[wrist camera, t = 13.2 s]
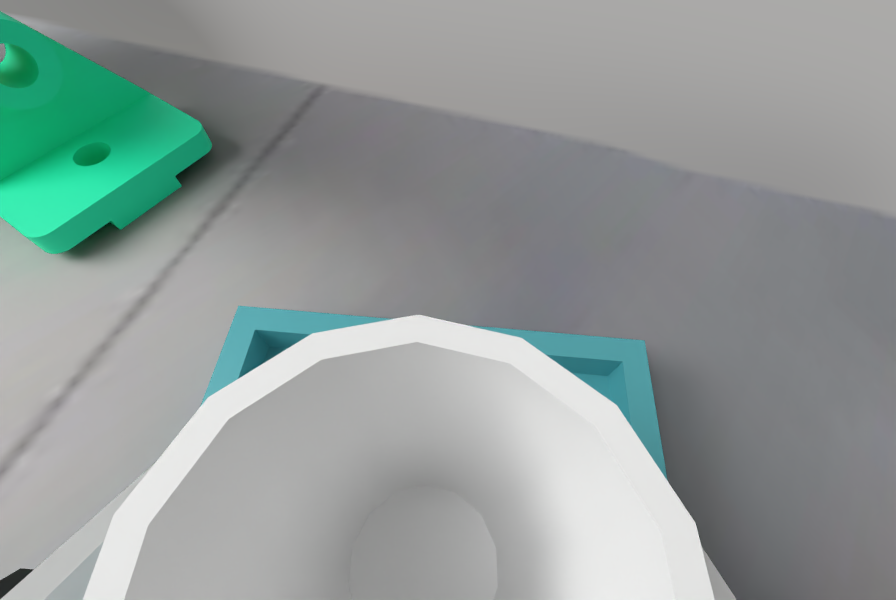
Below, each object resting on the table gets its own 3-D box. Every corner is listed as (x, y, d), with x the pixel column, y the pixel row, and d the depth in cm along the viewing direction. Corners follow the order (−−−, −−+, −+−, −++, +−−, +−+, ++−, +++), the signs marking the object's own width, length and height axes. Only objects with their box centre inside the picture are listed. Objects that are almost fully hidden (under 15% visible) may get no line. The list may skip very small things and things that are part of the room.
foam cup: (267, 673, 16) (-163, 998, 4) (353, 426, 20) (249, 276, 9) (521, 755, 15) (797, 1429, 4) (551, 477, 19) (714, 381, 8)
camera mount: (69, 270, 26) (-126, 123, 17) (-1, 214, 28) (-207, 56, 19) (225, 157, 31) (139, -1, 22) (157, 117, 33) (53, -43, 24)
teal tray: (70, 893, 14) (-16, 974, 11) (260, 332, 24) (238, 305, 21) (699, 964, 13) (764, 1067, 11) (621, 363, 23) (644, 340, 21)
